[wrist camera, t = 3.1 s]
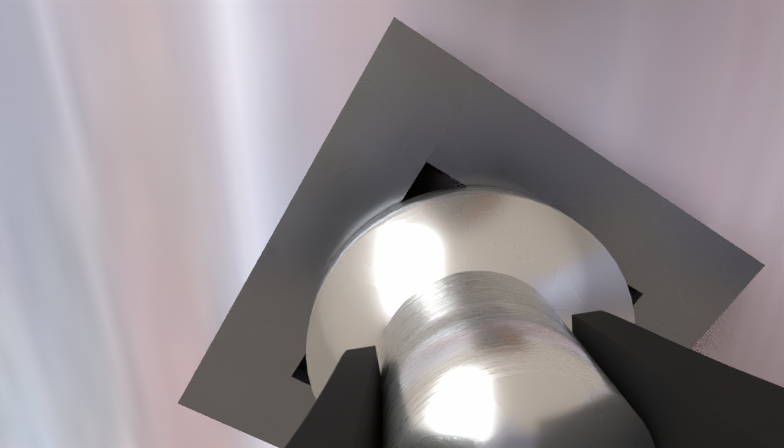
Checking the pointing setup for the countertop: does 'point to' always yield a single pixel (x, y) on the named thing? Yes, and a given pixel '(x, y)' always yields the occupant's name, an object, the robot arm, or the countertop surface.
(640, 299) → the frame
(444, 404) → the door knob
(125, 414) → the countertop surface
